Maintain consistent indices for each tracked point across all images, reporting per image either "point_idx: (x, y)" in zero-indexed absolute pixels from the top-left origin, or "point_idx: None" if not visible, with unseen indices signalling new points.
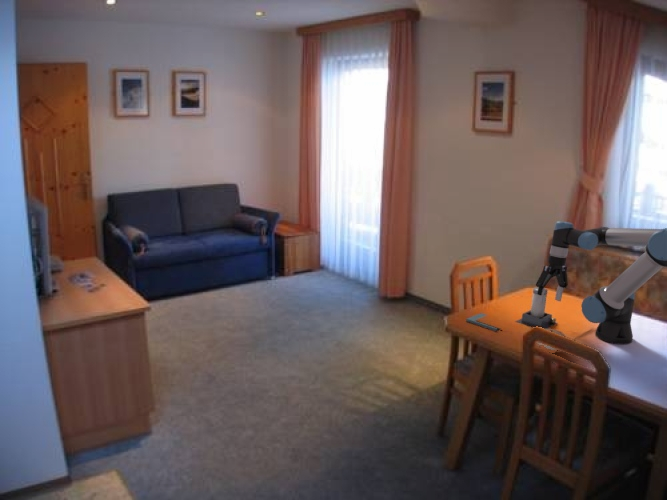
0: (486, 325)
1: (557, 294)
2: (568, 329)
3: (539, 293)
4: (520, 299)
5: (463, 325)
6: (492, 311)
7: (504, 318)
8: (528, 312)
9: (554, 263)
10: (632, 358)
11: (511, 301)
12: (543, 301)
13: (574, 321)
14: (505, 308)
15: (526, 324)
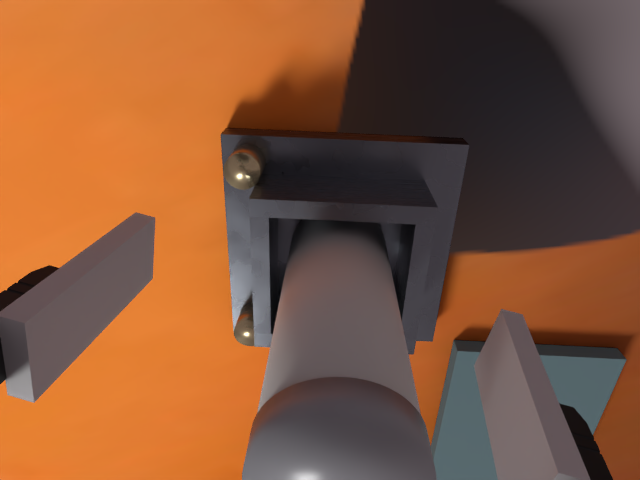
0: (602, 411)
1: (112, 301)
2: (215, 30)
3: (584, 438)
4: (23, 456)
5: (626, 473)
6: None
7: None
8: None
9: None
10: None
11: (97, 470)
12: (373, 325)
13: (11, 78)
14: (221, 450)
15: (430, 275)
